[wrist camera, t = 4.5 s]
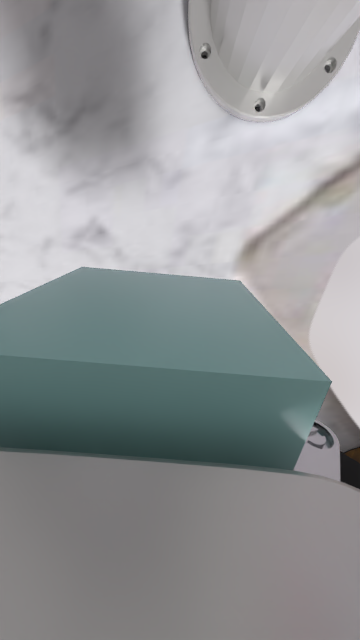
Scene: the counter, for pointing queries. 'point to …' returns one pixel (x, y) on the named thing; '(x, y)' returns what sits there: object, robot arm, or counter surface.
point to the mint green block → (154, 371)
